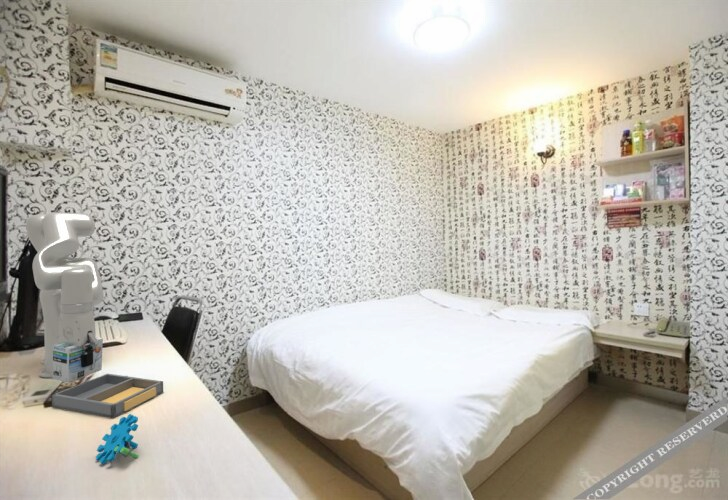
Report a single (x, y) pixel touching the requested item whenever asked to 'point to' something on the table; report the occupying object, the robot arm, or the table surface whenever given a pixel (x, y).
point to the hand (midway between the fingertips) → (78, 363)
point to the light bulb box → (74, 362)
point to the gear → (119, 440)
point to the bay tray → (107, 395)
